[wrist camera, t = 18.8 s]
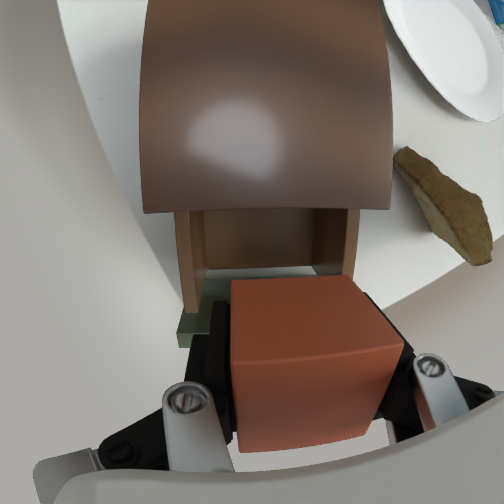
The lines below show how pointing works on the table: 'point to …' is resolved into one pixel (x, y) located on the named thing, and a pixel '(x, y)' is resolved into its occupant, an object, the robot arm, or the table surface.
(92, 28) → the table surface
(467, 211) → the rock
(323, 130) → the cabinet
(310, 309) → the block
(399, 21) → the plate
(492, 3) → the milk carton
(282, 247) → the drawer
